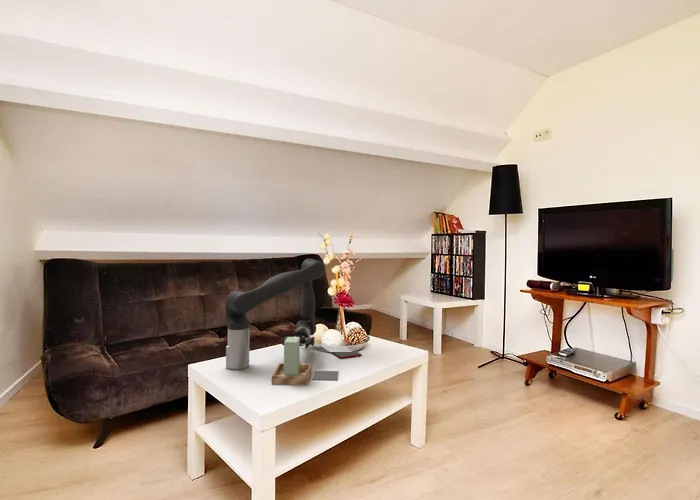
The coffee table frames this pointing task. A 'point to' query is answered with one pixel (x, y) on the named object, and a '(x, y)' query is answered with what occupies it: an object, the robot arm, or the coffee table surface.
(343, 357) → the smartphone
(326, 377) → the mat
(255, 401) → the coffee table surface
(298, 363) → the green rectangular block
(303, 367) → the offcut upper
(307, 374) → the wooden tray
